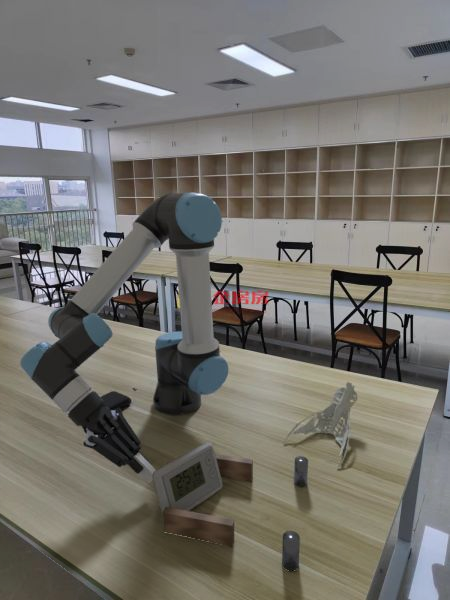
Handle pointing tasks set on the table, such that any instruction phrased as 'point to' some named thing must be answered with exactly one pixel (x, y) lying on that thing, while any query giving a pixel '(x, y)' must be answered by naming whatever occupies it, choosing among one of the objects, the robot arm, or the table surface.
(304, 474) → the posts
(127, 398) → the carrying case or bag
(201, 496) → the digital clock
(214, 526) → the chute
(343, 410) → the skeletal model
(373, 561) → the table surface
